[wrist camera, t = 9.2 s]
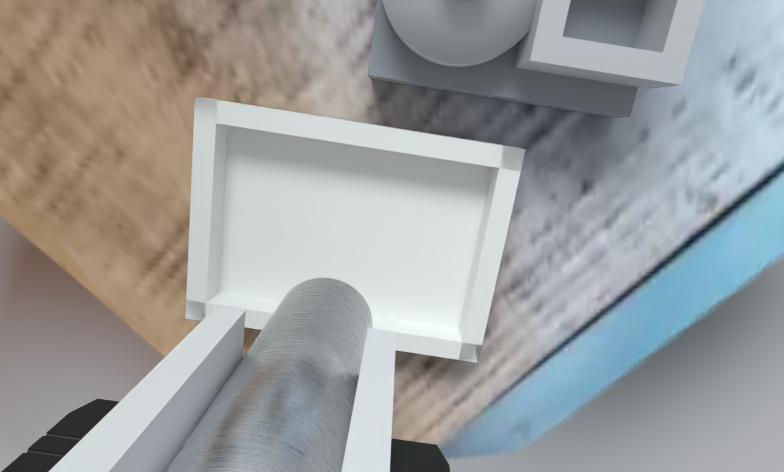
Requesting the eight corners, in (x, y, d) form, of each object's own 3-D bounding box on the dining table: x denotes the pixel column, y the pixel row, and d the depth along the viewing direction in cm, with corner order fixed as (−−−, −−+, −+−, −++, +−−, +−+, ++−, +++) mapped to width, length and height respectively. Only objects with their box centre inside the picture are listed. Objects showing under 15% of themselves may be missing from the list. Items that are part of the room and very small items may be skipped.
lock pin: (273, 357, 17) (-179, 1169, 4) (282, 270, 16) (-257, 929, 3) (365, 371, 17) (227, 1222, 4) (379, 285, 16) (263, 1002, 3)
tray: (202, 302, 30) (185, 318, 28) (213, 98, 27) (195, 96, 25) (472, 343, 30) (478, 362, 28) (515, 146, 27) (525, 149, 25)
